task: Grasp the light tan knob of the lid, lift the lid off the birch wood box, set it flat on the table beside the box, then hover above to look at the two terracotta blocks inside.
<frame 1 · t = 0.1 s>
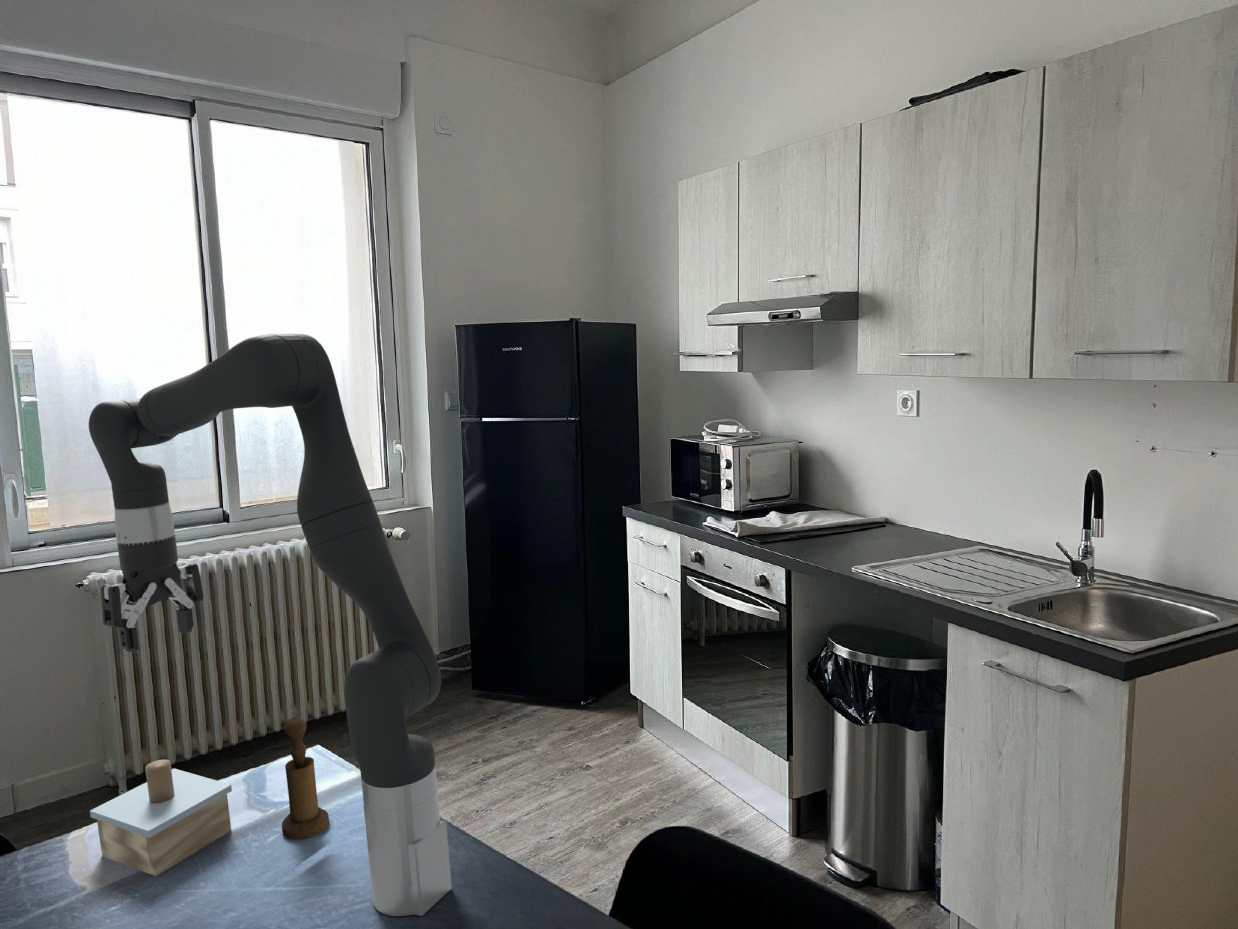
hand: (159, 641, 127), 29 cm above the table, tool pointing down, fingers open, 8 cm apart
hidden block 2: (143, 847, 123), point 1 cm above the table, touching box
mortar and pestle: (306, 834, 127), on the table
lid: (162, 804, 123), point 7 cm above the table, touching box
box: (168, 848, 124), on the table
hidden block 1: (192, 837, 125), point 1 cm above the table, touching box
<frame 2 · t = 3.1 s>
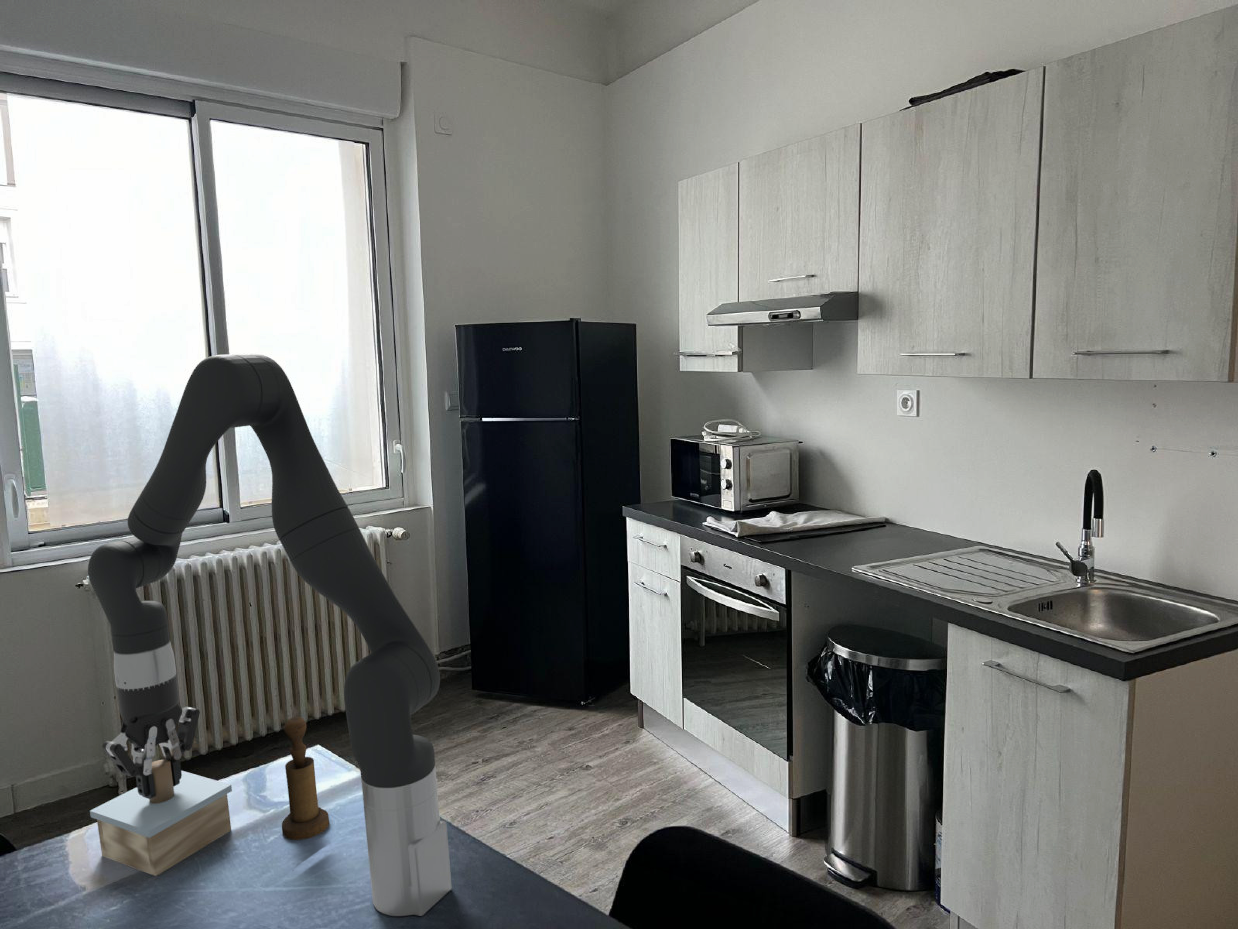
hand: (161, 790, 123), 9 cm above the table, tool pointing down, fingers closed on lid, 3 cm apart
lid: (162, 804, 123), point 7 cm above the table, touching box, gripper
everything else where it was.
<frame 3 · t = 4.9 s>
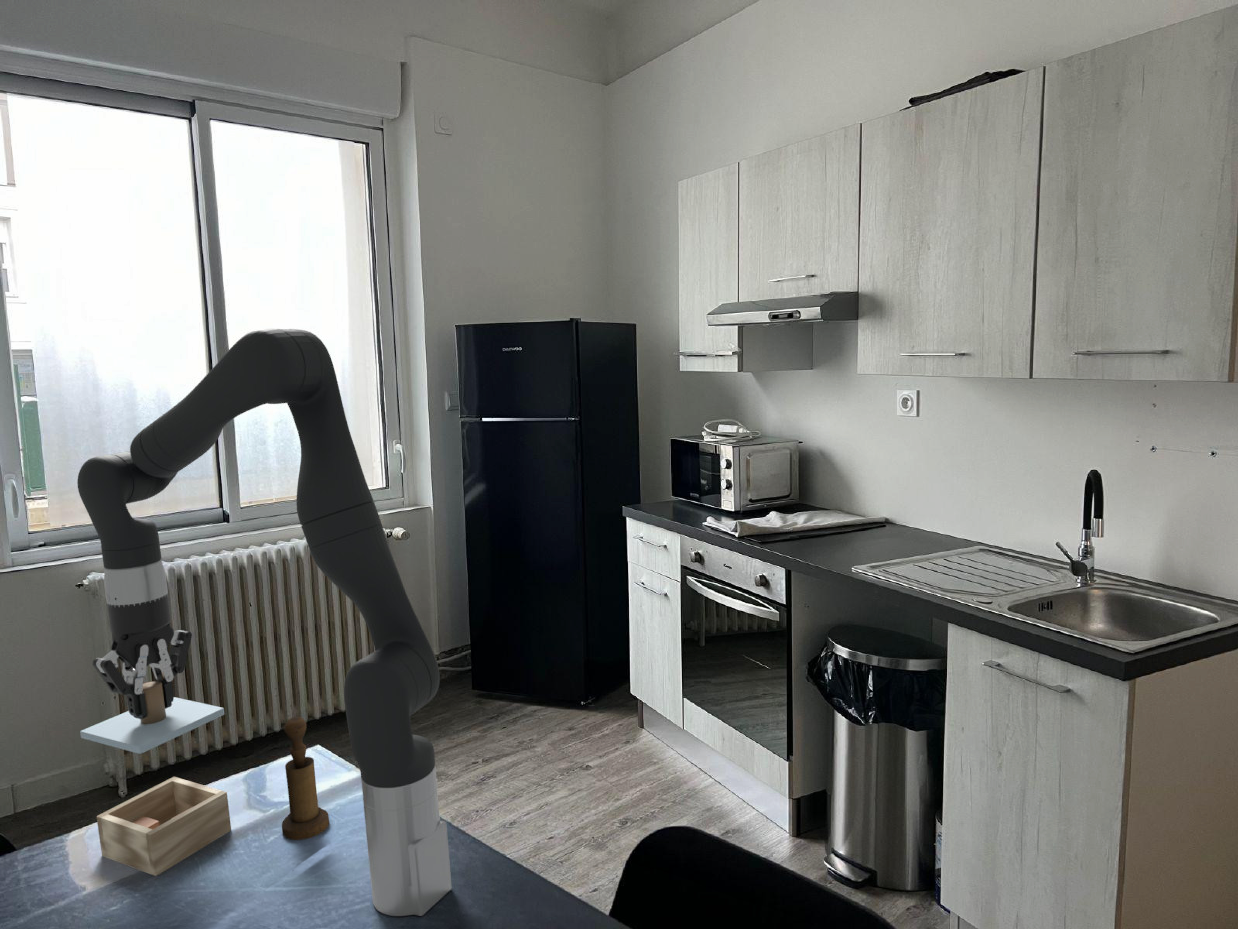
hand: (152, 711, 121), 21 cm above the table, tool pointing down, fingers closed on lid, 3 cm apart
lid: (154, 726, 122), point 19 cm above the table, touching gripper
everything else where it was.
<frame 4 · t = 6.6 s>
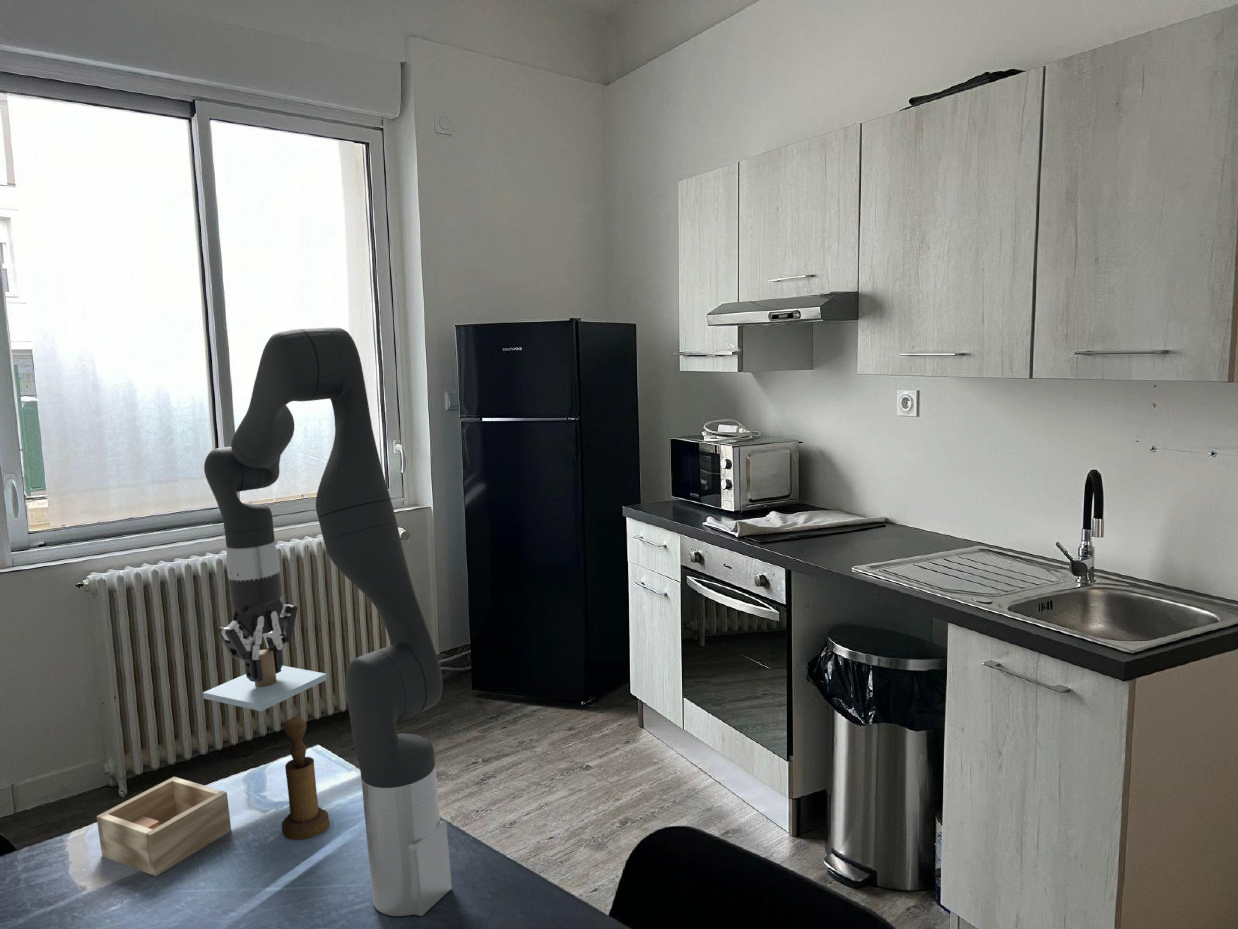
hand: (265, 676, 136), 20 cm above the table, tool pointing down, fingers closed on lid, 3 cm apart
lid: (266, 688, 137), point 18 cm above the table, touching gripper
everything else where it was.
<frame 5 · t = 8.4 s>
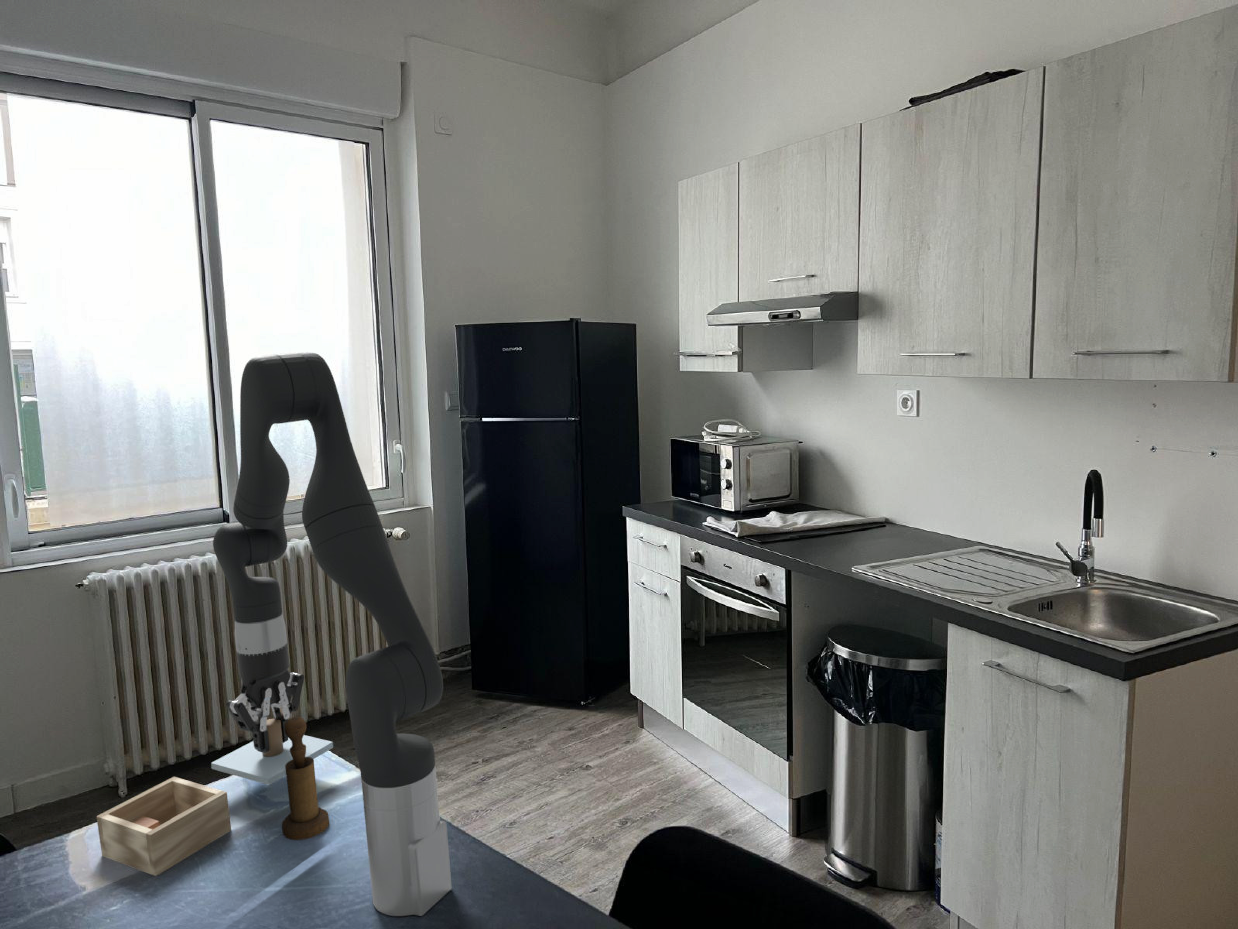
hand: (272, 745, 138), 8 cm above the table, tool pointing down, fingers closed on lid, 3 cm apart
lid: (273, 758, 138), point 6 cm above the table, touching gripper
everything else where it was.
when the fingers open (4 cm above the table, at t = 10.0 s): lid drops 3 cm, on the table.
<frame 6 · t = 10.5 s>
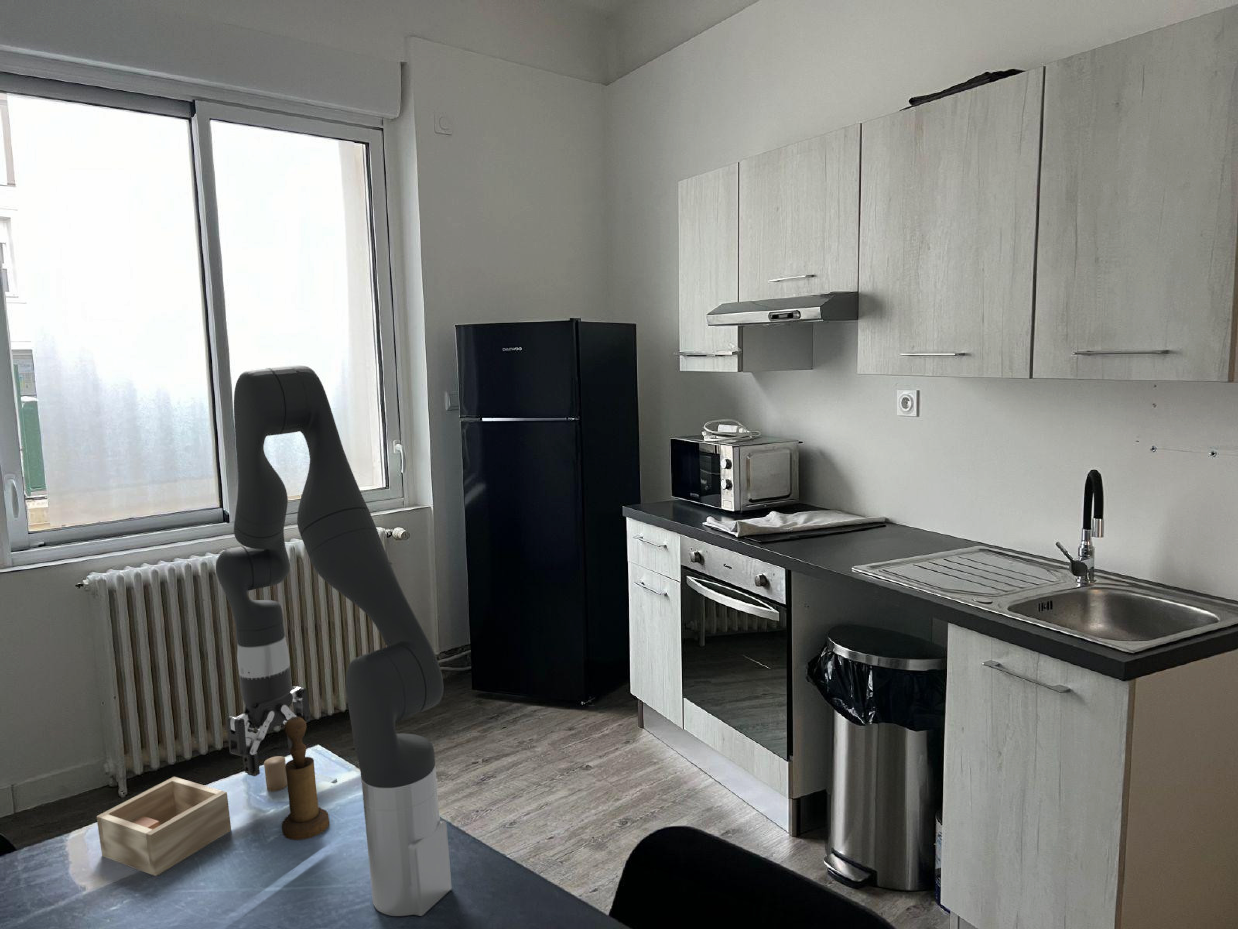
hand: (275, 762, 138), 5 cm above the table, tool pointing down, fingers open, 8 cm apart
lid: (278, 795, 139), on the table
everything else where it was.
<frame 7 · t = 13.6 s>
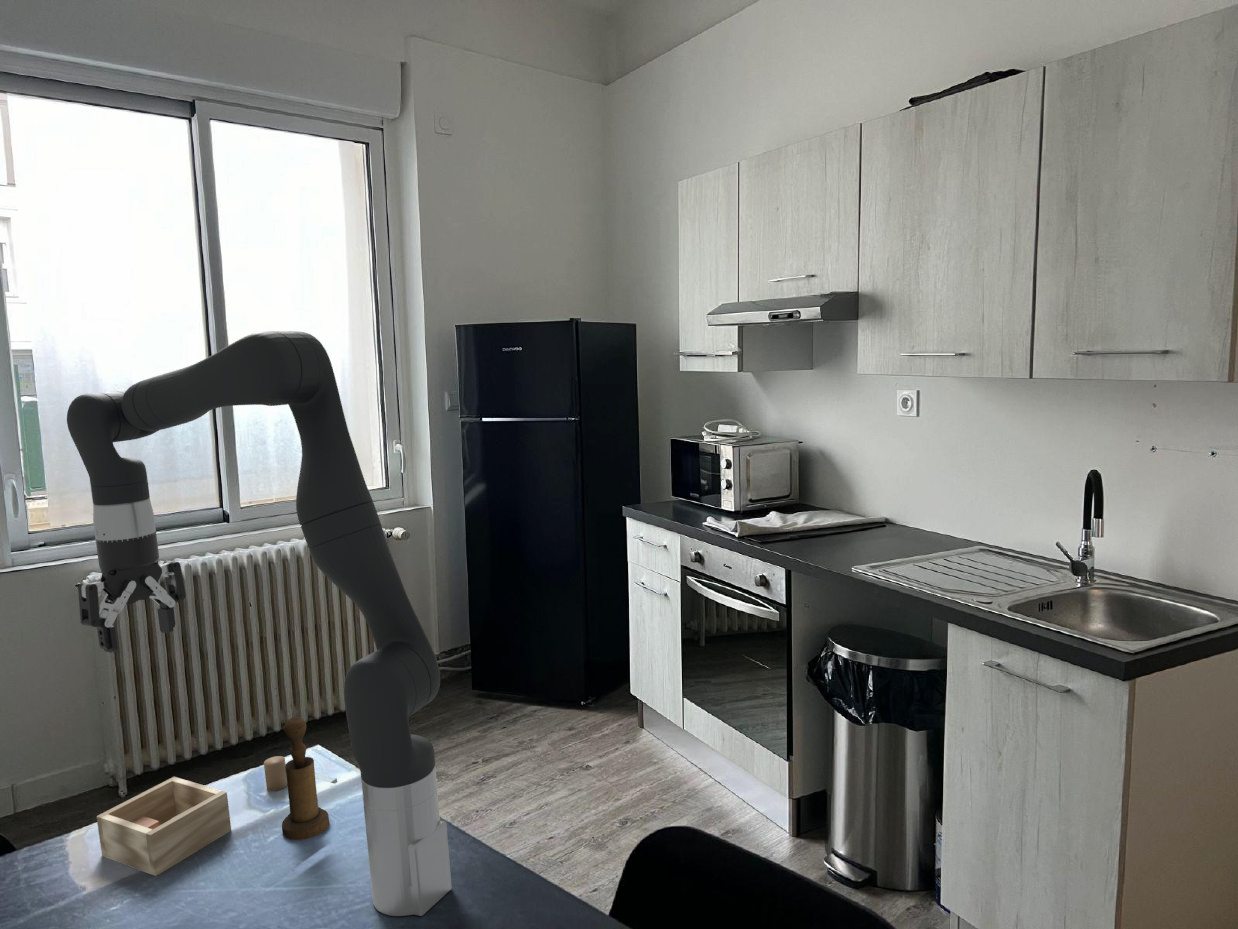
hand: (139, 641, 124), 30 cm above the table, tool pointing down, fingers open, 8 cm apart
nothing on the table moved.
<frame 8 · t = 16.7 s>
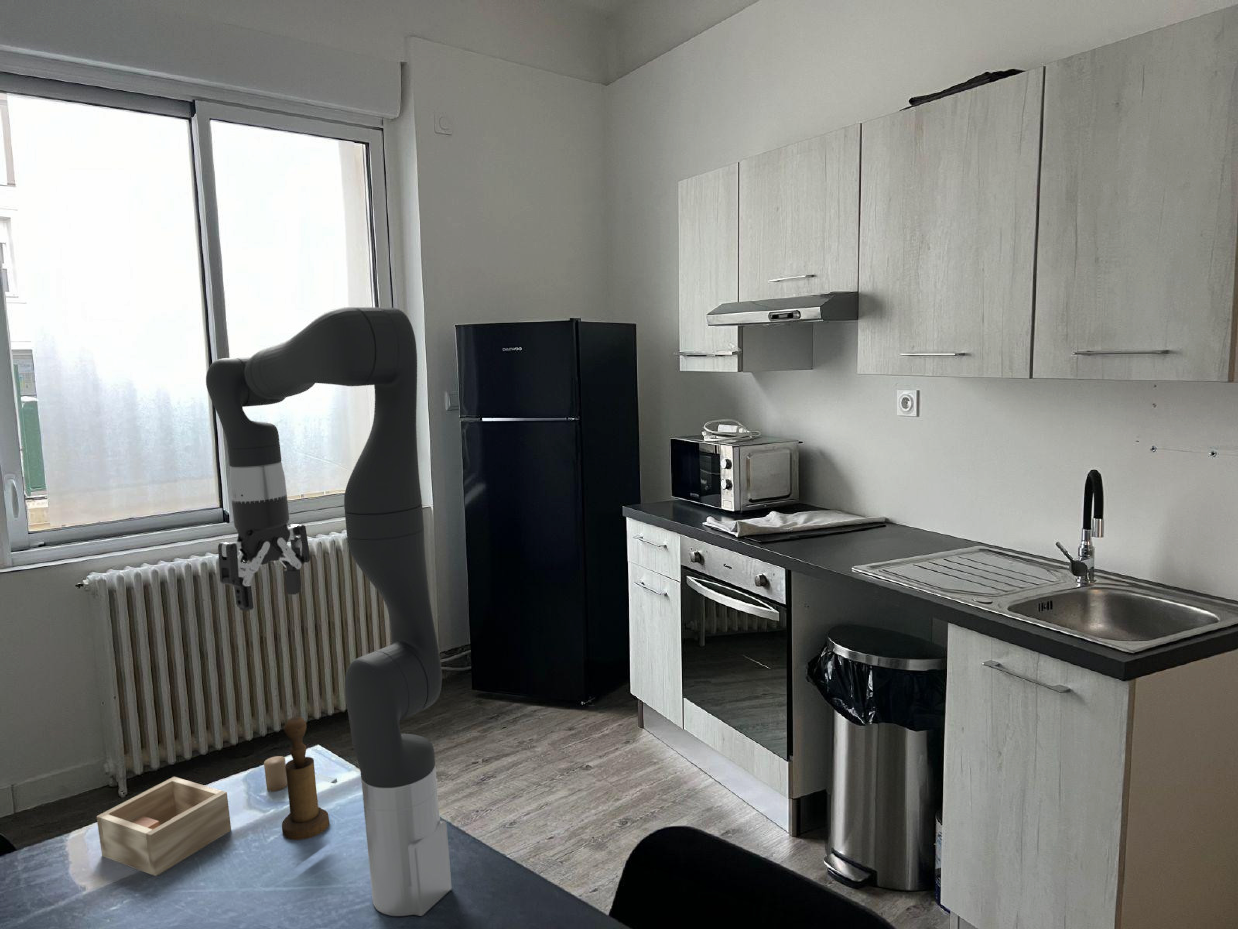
hand: (270, 601, 127), 34 cm above the table, tool pointing down, fingers open, 8 cm apart
nothing on the table moved.
at the end: lid inside the target area (0.0 cm from its centre), on the table; lid tilted 0°; lid touching table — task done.
